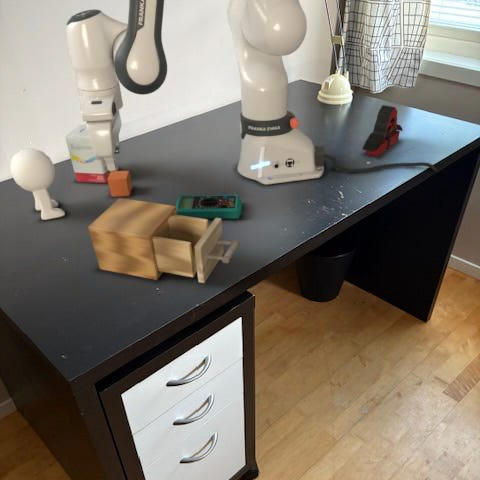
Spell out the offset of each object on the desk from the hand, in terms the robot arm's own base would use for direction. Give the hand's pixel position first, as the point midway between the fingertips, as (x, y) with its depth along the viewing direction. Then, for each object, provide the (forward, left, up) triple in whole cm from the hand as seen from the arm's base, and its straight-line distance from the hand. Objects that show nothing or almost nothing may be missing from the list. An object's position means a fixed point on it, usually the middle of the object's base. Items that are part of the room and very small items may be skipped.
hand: (114, 160), depth 113 cm
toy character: (+16, +9, -8) cm, 20 cm away
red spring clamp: (-69, -20, -8) cm, 73 cm away
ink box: (+8, -10, -8) cm, 15 cm away
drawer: (-21, +33, -7) cm, 40 cm away
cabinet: (-9, +29, -8) cm, 32 cm away
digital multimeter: (-22, +12, -8) cm, 26 cm away
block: (0, 0, -8) cm, 8 cm away
